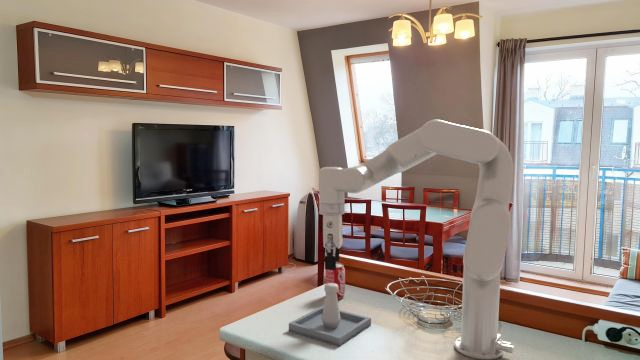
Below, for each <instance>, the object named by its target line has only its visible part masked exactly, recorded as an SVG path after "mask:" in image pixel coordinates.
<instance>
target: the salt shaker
mask: <svg viewBox="0 0 640 360" xmlns="http://www.w3.org/2000/svg"><path fill="white" fill-rule="evenodd" d="M323 289H324V292H325V297H324V303H323V306H324V308H323V313H322V318H321V319H322V322H323V324H324V326H325V327H327V328H336V327H338V325H339V322H340V318H341V317H340V312H339V310H340V307H339V299H338V300H337V292H338V289H339V287H338V285H337V284H335V283H327V284H326V283H325V285H324V288H323Z"/></svg>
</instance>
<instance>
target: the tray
mask: <svg viewBox="0 0 640 360" xmlns="http://www.w3.org/2000/svg"><path fill="white" fill-rule="evenodd" d="M323 308H324V305H322V306H320V307H318V308H316V309H314V310H312V311H310V312H308V313H306V314H304V315H302V316H300V317H298V318H296V319H294V320H292V321H290V322H288V331H289V332H290V333H294V332H295V333H294V334H297V335H300V334H301V336H304V337H307V338H310V339H313V340H316V341H320V342H324V343H327V344H329V345H333V346H336V347H342V345H343V346H344V345H345V343H347V342H349V341H350V340H351V339H353V338H354V337H356V336H358V335H359V334H360V333H363V332H364V331H365V330H367V329H368V328H369V327H371V326H372V318H371V317H368V316H364V315H361V314H356V313H353V312H349V311H345V310H340V309H339V312H340V317H341V318H340V322H339V325H338V327H336V328H327V327H325V326H324V324H323V322H322V319H321V318H322V313H323Z"/></svg>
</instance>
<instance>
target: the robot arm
mask: <svg viewBox="0 0 640 360" xmlns="http://www.w3.org/2000/svg"><path fill="white" fill-rule="evenodd" d="M436 155H441V156H444V157H448V158H453V159H456V160H461V161H463V162H464V161H465V162H468V163H472V164H477V165H478V167H479V176H478V183H477V187H476V188H477V189H476V194H475V195H476V196H475V198H474V199H475V200H474V204H473V207H472V209H471V212H470V217H469V218H470V219H469V224H468V231H467V237H466V240H465V241H466V242H465V246H464V249H463V256H462V258H463V259H462V263H463V272H462V273H463V275H462V297H461V298H462V299H461V300H462V301H461V323H460V324H461V326H460V327H461V329H460V337H458V338H457V339H456V340H455V341H454V347H455V349H456V351H457V352H459V353H460V354H462V355H464V356H466V357H468V358H473V359H477V360H494V359H495V360H496V359H498V358H500V357H502V355H503V354H504V352H505V353H508V354H514V351H515V346H514V345H512V342H511V341H510V342H509V341H505V340H504V341H503V339H502V338H501V337H502V336H501V334H500V333H499V313H500V311H499V309H500V297H501V296H500V294H501V293H500V291H501V271H502V269H503V267H504V266H503V265H504V262H505V257H506V251H507V247H508V241H509V237H510V231H511V222H512V221H511V220H512V219H511V215H510V210H509V208H510V201H511V197H512V196H511V195H512V189H513V184H514V183H513V181H514V174H515V173H514V170H515V168H514V161H513V158H512V155H511V153H510V151H509V149H508V147H507V145H505V144H504V142H503V141H502V140H501V139H499V138H498V137H497V136H496V135H494V133H492V132H491V131H488V130H484V129H479V128H475V127H470V126H468V125H467V126H466V125H460V124H457V123H453V122H448V121H445V120H441V119H435V118H434V119H431V120H428V121H427V122H426V123H425V122H424V124H423V125H422V126H421V127H420V128H418V129H417V128H416V130H414V131H412V132H410V133H408V134H407V135H406V136H403V137H401V138H399V139H398V140H396V141H394V142H391V144H389V145H388V146H387V147H386V149H384V150H383V151H382V152H380V153H378V154H377V155H376V156H374V157H372V158H370V159H369V160H366V161H365V162H363V163H360V164H358V165H356V166H353V167H346V168H342V167H340V166H325V167H321V168H320V169H319V171H318V201H319V204H318V205H319V206H318V208H319V211H318V213H319V215H322V242H323V247H324V248H325V252H324V269H325V271H326V270H336V263H337V262H340V249H341V247H342V244H343V241H344V240H343V216H342V215H345V213H346V212H345V207H346V206H345V205H346V204H345V197H346V196H345V193H346V194H347V193H348V194H359V193H361V192H363V191H366V190H369V188H372V187H373V186H375V185H377V184H379V183H381V182H382V181H384V180H387V179H389V178H391V177H393V176H395V175H397V174H400V173H403V172H405V171H407V170H409V169H412V168H413V167H416V166H417V165H419V164H421V163H423V162H424V161H426V160H428V159H431V157H434V156H436Z"/></svg>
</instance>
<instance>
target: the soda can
mask: <svg viewBox="0 0 640 360" xmlns="http://www.w3.org/2000/svg"><path fill="white" fill-rule="evenodd" d="M327 283H335V284H337V285H338V287H339V289H338V292H337V300H338V301H339V300H340V299H341V300H342V298H344V297H345V294H346V293H345V292H346V269H345V266H344V264H343V263H341V262H336V270H325V285H326V284H327Z"/></svg>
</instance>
